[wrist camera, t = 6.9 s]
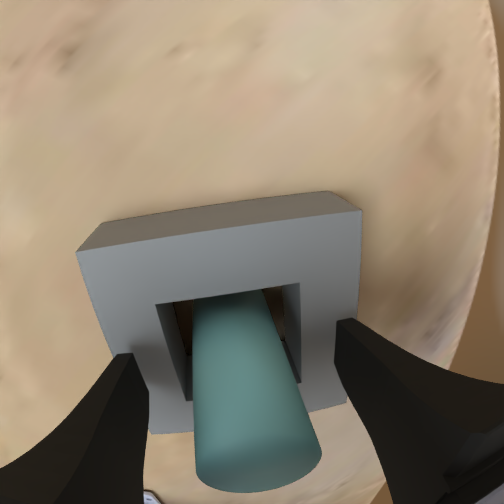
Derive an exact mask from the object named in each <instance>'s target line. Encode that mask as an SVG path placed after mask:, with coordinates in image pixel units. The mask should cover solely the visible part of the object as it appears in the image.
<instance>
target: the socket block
mask: <svg viewBox="0 0 504 504" xmlns="http://www.w3.org/2000/svg"><path fill="white" fill-rule="evenodd" d="M361 239H362V210H361V209H359V208H357V207H356V206H354V205H352V204H351V203H349V202H347V201H346V200H344V199H342V198H340V197H339V196H337V195H335V194H334V193H332V192H330V191H321V192H312V193H303V194H294V195H285V196H277V197H268V198H260V199H253V200H245V201H237V202H230V203H223V204H216V205H209V206H202V207H195V208H189V209H182V210H176V211H170V212H164V213H158V214H152V215H146V216H140V217H134V218H128V219H123V220H117V221H112V222H106V223H101V224H100V225H99V226H98V227H97V228H96V229H95V231H94V232H93V233H92V234H91V235H90V236H89V237H88V238H87V239H86V241H85V242H84V243H83V244H82V245H81V246H80V247H79V249H78V250H77V251H76V252H75V253H76V256H77V260H78V263H79V266H80V269H81V272H82V276H83V279H84V282H85V285H86V288H87V291H88V294H89V296H90V299H91V302H92V305H93V308H94V310H95V313H96V316H97V318H98V321H99V324H100V326H101V329H102V331H103V334H104V336H105V339H106V341H107V344H108V346H109V348H110V351H111V353H112V355H113V358H114V357H115V356H116V355H117V354H121V353H133V354H134V357H135V359H136V362H137V364H138V367H139V369H140V372H141V374H142V376H143V379H144V381H145V383H146V386H147V388H148V390H149V424H148V429H149V431H150V433H151V434H169V433H182V432H193V431H194V416H193V366H192V355H189V356H187V355H186V352H185V348H184V345H183V341H182V338H181V334H180V330H179V327H178V323H177V319H176V315H175V311H174V307H173V303H172V302H176V301H183V300H190V299H197V298H204V297H211V296H218V295H224V294H231V293H238V292H244V291H250V290H257V289H263V288H269V287H275V286H281V285H282V292H283V309H284V327H285V340H284V341H281V343H282V345H283V348H284V351H285V353H286V356H287V359H288V362H289V364H290V367H291V370H292V372H293V375H294V378H295V380H296V383H297V386H298V388H299V391H300V394H301V396H302V399H303V402H304V405H305V407H306V410H307V413H308V412H313V411H317V410H321V409H325V408H329V407H333V406H336V405H340V404H344V403H346V400H347V393H346V391H345V390H344V388H343V386H342V383H341V381H340V378H339V376H338V373H337V370H336V368H335V365H334V353H335V338H336V321H338V320H342V319H347V318H351V317H352V318H354V319H356V320H357V309H358V296H359V282H360V264H361Z"/></svg>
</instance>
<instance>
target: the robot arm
mask: <svg viewBox="0 0 504 504" xmlns="http://www.w3.org/2000/svg"><path fill="white" fill-rule="evenodd" d="M334 365H335V368H336V370H337V373H338V376H339V378H340V381H341V383H342V386H343V388H344V390H345V391H346V393H347V395H348V397H349V399H350V401H351V402H352V404H353V406H354V408H355V410H356V411H357V413H358V415H359V417H360V419H361V420H362V422H363V424H364V426H365V428H366V429H367V431H368V434H369V436H370V438H371V440H372V442H373V445H374V447H375V450H376V453H377V455H378V458H379V460H380V463H381V466H382V469H383V472H384V475H385V477H386V481H387V484H388V487H389V490H390V493H391V497H392V500H393V504H504V384H498V383H493V382H488V381H483V380H478V379H474V378H470V377H467V376H464V375H461V374H457V373H454V372H451V371H449V370H446V369H443V368H441V367H438V366H436V365H434V364H431V363H429V362H427V361H425V360H423V359H421V358H419V357H417V356H415V355H413V354H411V353H409V352H407V351H405V350H404V349H402V348H400V347H398V346H397V345H395V344H393V343H392V342H390V341H388V340H387V339H385V338H384V337H382V336H381V335H379V334H377V333H376V332H374V331H373V330H371V329H370V328H368V327H367V326H365V325H364V324H362V323H361V322H359V321H357V320H356V319H354V318H352V317H351V318H347V319H342V320H338V321H336V338H335V353H334ZM148 424H149V390H148V388H147V386H146V383H145V381H144V379H143V376H142V374H141V372H140V369H139V367H138V364H137V362H136V359H135V357H134V354H133V353H121V354H117V355H116V356H115V357H114V358H113V360H112V361H111V362H110V364H109V365H108V366H107V368H106V369H105V370H104V372H103V373H102V374H101V376H100V377H99V378H98V380H97V381H96V382H95V384H94V385H93V386H92V387H91V389H90V390H89V391H88V393H87V394H86V395H85V396H84V398H83V399H82V400H81V401H80V402H79V403H78V405H77V406H76V407H75V408H74V409H73V411H72V412H71V413H70V414H69V415H68V416H67V417H66V418H65V419H64V420H63V421H62V422H61V423H60V424H59V425H58V426H57V427H56V428H55V429H54V430H53V431H52V432H51V433H50V434H49V435H48V436H46V437H45V438H44V439H43V440H42V441H40V442H39V443H38V444H37V445H36V446H34V447H33V448H32V449H30V450H29V451H28V452H26V453H25V454H23V455H22V456H20V457H19V458H17V459H16V460H14V461H13V462H11V463H9V464H8V465H6V466H4V467H2V468H0V504H161V503H160V502H159V501H158V499H157V498H156V497H155V496H154V495H153V494H152V493H150V492H144V489H143V468H144V458H145V449H146V441H147V432H148Z"/></svg>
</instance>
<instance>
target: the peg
mask: <svg viewBox="0 0 504 504" xmlns="http://www.w3.org/2000/svg"><path fill="white" fill-rule="evenodd" d="M192 366H193V416H194V442H195V463H196V473H197V476H198V478H199V479H200V480H201V481H202V482H203V483H205V484H206V485H208V486H210V487H212V488H215V489H218V490H222V491H227V492H235V493H252V492H261V491H267V490H272V489H276V488H279V487H282V486H285V485H288V484H290V483H293V482H295V481H297V480H299V479H300V478H302V477H304V476H305V475H307V474H308V473H309V472H311V471H312V470H313V469H314V468H315V467H316V465H317V464H318V463H319V461H320V459H321V456H322V451H321V447H320V445H319V442H318V439H317V437H316V434H315V431H314V429H313V426H312V423H311V421H310V418H309V415H308V413H307V410H306V407H305V405H304V402H303V399H302V396H301V394H300V391H299V388H298V386H297V383H296V380H295V378H294V375H293V372H292V370H291V367H290V364H289V362H288V359H287V356H286V353H285V351H284V348H283V345H282V343H281V340H280V337H279V335H278V332H277V329H276V326H275V324H274V321H273V318H272V316H271V313H270V310H269V308H268V305H267V302H266V299H265V297H264V294H263V292H262V290H261V289H257V290H250V291H244V292H238V293H231V294H224V295H218V296H211V297H204V298H197V299H194V300H193V326H192Z"/></svg>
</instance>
